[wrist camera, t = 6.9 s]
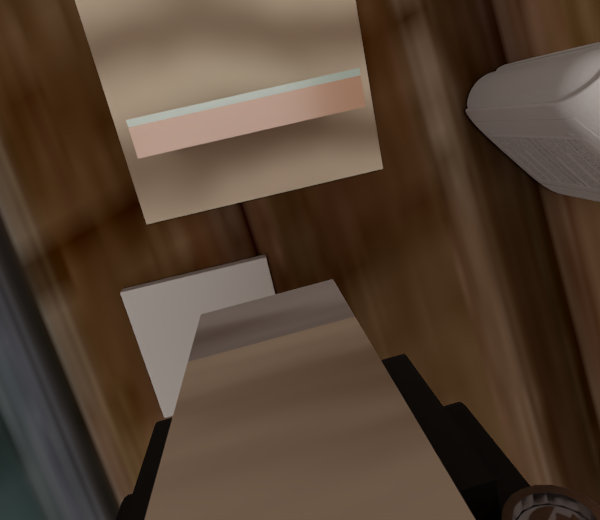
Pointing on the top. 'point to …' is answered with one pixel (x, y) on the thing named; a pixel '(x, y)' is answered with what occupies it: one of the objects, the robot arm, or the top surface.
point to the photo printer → (546, 117)
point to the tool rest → (186, 316)
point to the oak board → (230, 93)
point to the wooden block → (295, 423)
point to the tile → (246, 113)
